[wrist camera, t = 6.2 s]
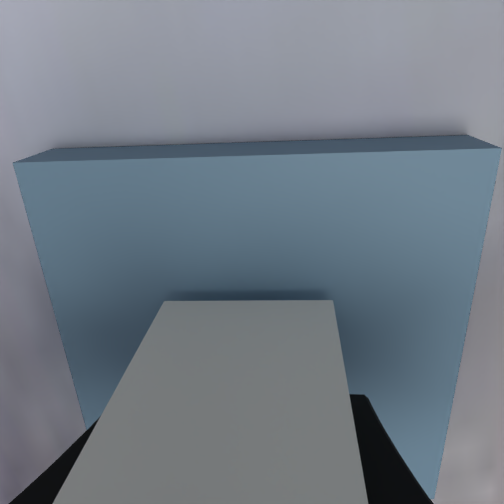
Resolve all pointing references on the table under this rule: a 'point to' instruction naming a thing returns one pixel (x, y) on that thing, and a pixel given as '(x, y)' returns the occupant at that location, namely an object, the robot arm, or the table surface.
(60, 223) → the base board
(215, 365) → the white block
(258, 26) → the table surface
